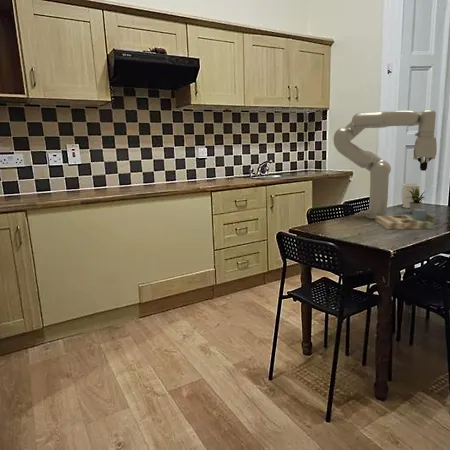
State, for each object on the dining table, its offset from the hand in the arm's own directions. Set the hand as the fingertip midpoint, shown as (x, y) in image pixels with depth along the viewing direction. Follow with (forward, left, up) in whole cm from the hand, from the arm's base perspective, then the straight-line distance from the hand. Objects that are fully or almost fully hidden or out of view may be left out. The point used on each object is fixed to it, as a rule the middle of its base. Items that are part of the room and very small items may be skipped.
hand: (423, 170), depth 197 cm
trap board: (-13, -11, -27) cm, 32 cm away
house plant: (+5, +23, -27) cm, 36 cm away
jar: (+10, +41, -27) cm, 51 cm away
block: (-5, -12, -24) cm, 28 cm away
